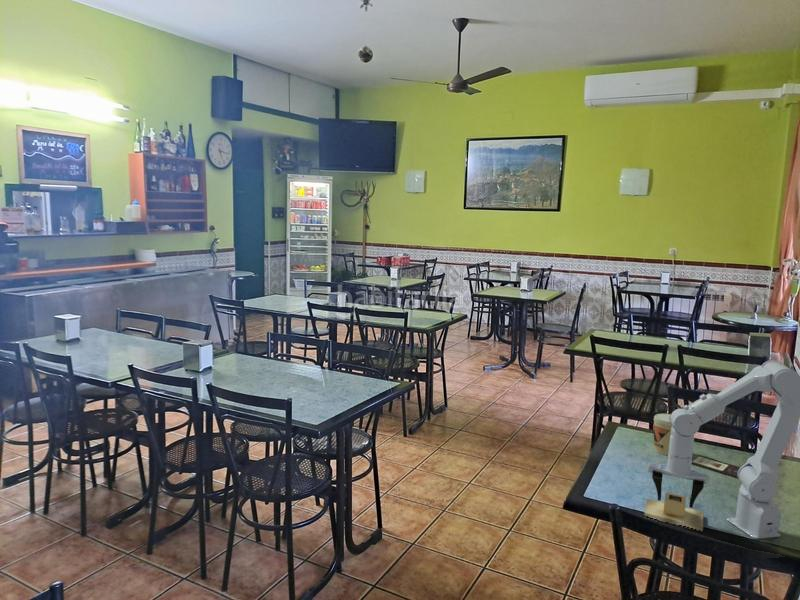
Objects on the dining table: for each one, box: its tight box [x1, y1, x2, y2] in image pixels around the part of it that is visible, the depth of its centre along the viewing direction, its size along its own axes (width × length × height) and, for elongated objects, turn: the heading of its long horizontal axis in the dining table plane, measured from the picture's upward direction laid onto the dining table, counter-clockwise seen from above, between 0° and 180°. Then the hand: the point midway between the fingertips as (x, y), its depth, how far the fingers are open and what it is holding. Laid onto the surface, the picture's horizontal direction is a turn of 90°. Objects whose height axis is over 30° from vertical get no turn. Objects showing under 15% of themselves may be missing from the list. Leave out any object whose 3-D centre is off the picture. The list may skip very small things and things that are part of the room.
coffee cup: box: [652, 413, 672, 456], centre depth 200 cm, size 9×9×12 cm
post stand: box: [643, 498, 704, 532], centre depth 156 cm, size 14×9×4 cm, turn 63°
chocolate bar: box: [691, 455, 742, 480], centre depth 187 cm, size 9×1×18 cm
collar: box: [663, 491, 687, 519], centre depth 156 cm, size 5×5×4 cm
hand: (675, 502), depth 155 cm, fingers open, 7 cm apart
